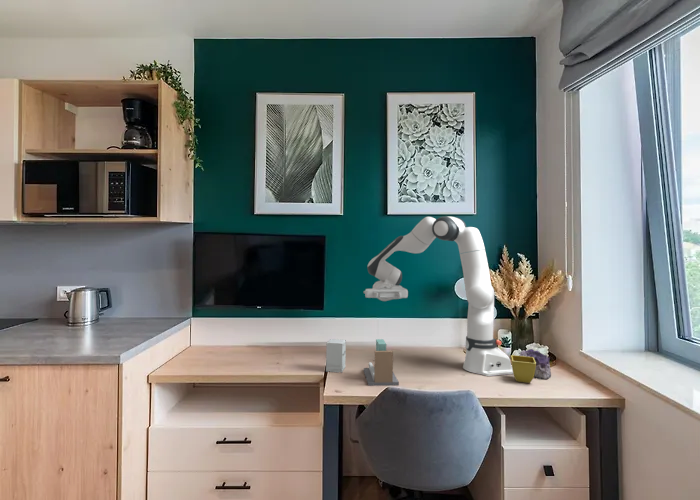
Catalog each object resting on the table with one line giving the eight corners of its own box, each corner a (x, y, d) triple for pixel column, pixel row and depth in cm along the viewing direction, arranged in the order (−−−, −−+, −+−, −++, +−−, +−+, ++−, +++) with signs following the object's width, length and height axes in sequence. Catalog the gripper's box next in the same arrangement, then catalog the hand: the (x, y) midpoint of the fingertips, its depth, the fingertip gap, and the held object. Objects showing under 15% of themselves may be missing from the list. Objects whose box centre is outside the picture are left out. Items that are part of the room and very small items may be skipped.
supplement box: (342, 373, 166) (342, 343, 166) (325, 371, 168) (325, 342, 167) (345, 367, 173) (346, 339, 173) (329, 366, 175) (330, 338, 175)
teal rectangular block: (382, 372, 164) (383, 339, 164) (386, 378, 156) (386, 344, 156) (375, 372, 164) (375, 339, 164) (378, 378, 156) (378, 344, 156)
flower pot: (535, 385, 153) (536, 363, 153) (512, 383, 156) (512, 360, 156) (533, 378, 162) (533, 357, 162) (510, 376, 165) (510, 354, 164)
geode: (562, 381, 160) (559, 357, 159) (533, 383, 161) (530, 360, 160) (542, 364, 180) (540, 342, 179) (516, 366, 181) (514, 345, 181)
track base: (390, 370, 170) (391, 340, 170) (398, 385, 152) (399, 351, 152) (363, 370, 169) (363, 340, 169) (368, 385, 151) (368, 352, 151)
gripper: (363, 285, 190) (366, 288, 176) (404, 285, 191) (410, 288, 178) (362, 298, 190) (366, 302, 176) (404, 298, 191) (410, 302, 178)
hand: (388, 295), depth 177 cm, fingers open, 8 cm apart
